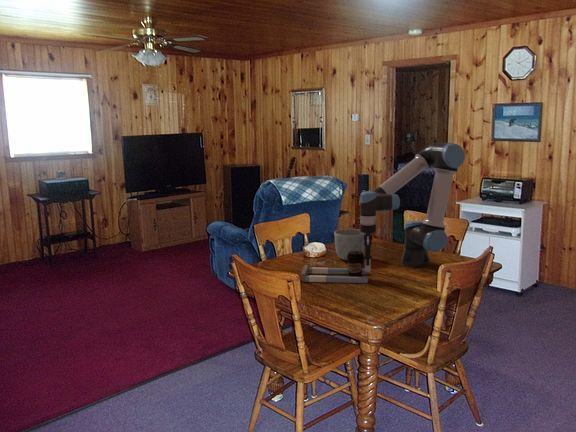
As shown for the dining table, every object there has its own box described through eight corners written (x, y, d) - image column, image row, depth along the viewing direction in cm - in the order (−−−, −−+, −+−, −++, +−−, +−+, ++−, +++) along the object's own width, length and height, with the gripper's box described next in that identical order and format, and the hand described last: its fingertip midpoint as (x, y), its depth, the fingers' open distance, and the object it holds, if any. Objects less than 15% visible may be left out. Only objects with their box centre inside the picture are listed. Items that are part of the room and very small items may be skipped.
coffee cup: (363, 281, 253) (363, 254, 251) (346, 280, 255) (346, 254, 252) (364, 275, 261) (364, 250, 259) (347, 275, 263) (347, 249, 261)
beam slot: (367, 273, 264) (367, 265, 264) (367, 283, 250) (367, 274, 249) (304, 272, 269) (304, 264, 268) (300, 281, 255) (300, 273, 254)
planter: (357, 264, 281) (357, 236, 278) (329, 260, 290) (328, 233, 287) (370, 256, 295) (370, 230, 292) (342, 253, 304) (342, 227, 301)
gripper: (360, 221, 259) (360, 267, 263) (359, 226, 246) (359, 275, 251) (375, 221, 258) (375, 267, 262) (376, 226, 245) (375, 275, 249)
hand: (367, 271), depth 256 cm, fingers closed
